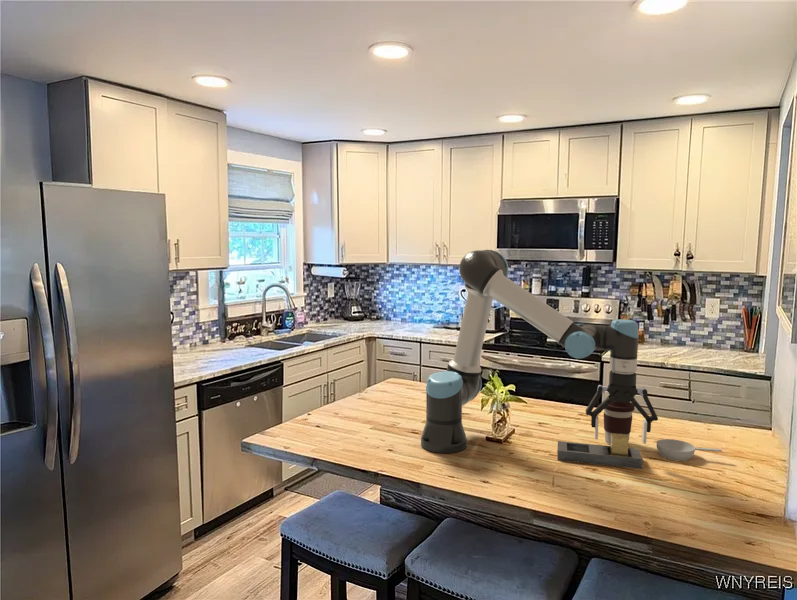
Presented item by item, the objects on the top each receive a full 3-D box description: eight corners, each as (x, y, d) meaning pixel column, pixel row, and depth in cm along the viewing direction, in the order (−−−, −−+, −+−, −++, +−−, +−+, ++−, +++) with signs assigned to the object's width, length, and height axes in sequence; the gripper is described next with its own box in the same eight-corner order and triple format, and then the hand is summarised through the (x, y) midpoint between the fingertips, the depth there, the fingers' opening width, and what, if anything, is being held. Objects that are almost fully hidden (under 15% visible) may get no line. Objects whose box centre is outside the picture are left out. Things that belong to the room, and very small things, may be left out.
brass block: (610, 458, 170) (611, 433, 170) (625, 459, 169) (626, 434, 168) (611, 463, 166) (612, 437, 165) (627, 465, 165) (628, 439, 164)
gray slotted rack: (557, 460, 169) (557, 450, 168) (557, 450, 177) (557, 441, 176) (642, 469, 162) (642, 459, 162) (638, 458, 170) (638, 448, 170)
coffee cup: (635, 449, 177) (637, 404, 176) (603, 447, 179) (605, 402, 178) (629, 438, 187) (631, 395, 185) (598, 436, 189) (600, 393, 187)
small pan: (654, 447, 179) (655, 436, 179) (717, 455, 173) (718, 443, 172) (657, 459, 169) (657, 447, 169) (724, 468, 163) (724, 456, 162)
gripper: (579, 371, 165) (577, 440, 167) (671, 377, 158) (667, 448, 160) (578, 366, 172) (576, 431, 174) (666, 371, 165) (662, 439, 167)
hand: (619, 440), depth 167 cm, fingers open, 13 cm apart
